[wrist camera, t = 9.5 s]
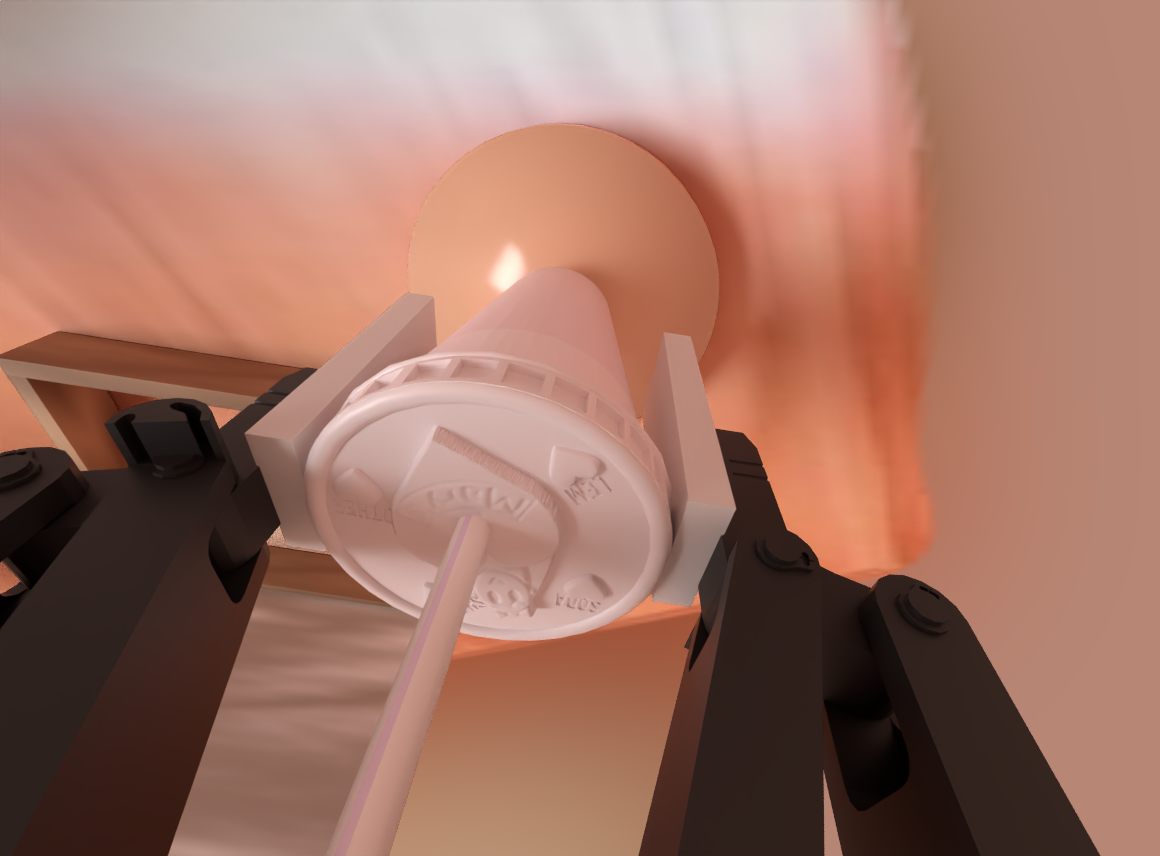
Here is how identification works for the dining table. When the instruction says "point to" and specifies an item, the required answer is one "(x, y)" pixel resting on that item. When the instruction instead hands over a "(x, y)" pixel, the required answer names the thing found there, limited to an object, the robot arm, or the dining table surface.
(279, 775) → the box
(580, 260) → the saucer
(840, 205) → the dining table surface
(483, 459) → the smoothie
